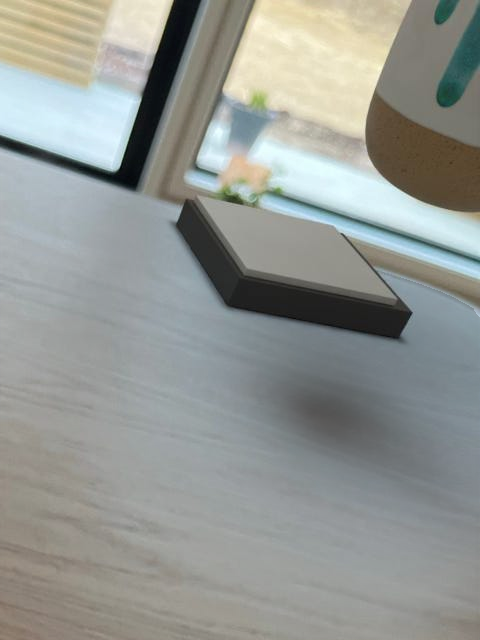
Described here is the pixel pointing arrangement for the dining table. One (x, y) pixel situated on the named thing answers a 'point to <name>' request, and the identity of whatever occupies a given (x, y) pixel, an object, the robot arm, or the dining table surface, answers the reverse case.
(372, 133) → the vase
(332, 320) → the scale
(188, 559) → the dining table surface
